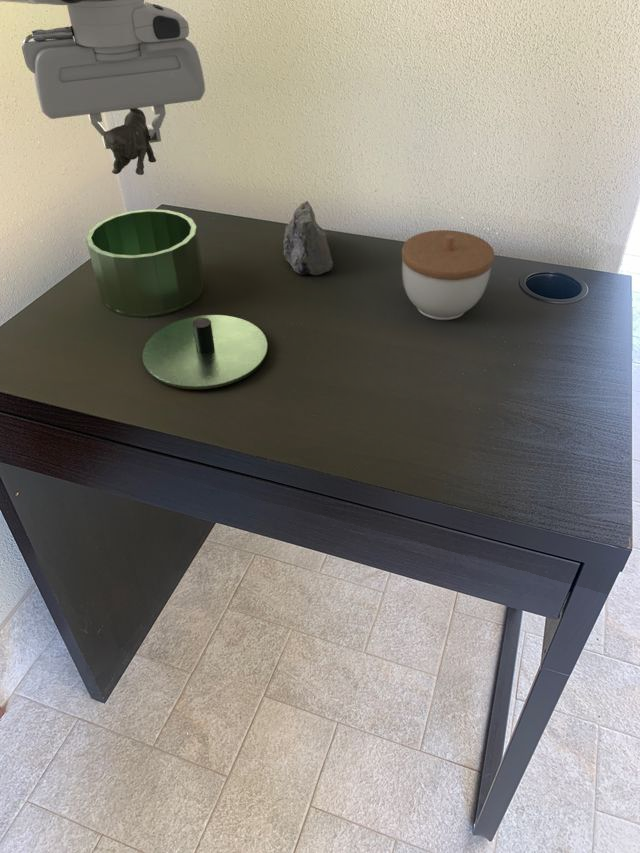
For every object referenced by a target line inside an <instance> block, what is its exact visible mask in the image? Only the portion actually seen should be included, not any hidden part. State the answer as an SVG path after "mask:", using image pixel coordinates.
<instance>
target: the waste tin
mask: <svg viewBox="0 0 640 853" xmlns="http://www.w3.org/2000/svg"><path fill="white" fill-rule="evenodd" d="M85 242H86V246H87V250H88V253H89V257H90V261H91V264H92V269H93V272H94V277H95V281H96V284H97V288H98V292H99V296H100V298H101V302H102V304H103V305H104V306H105V307H106V308H107V309H108V310H110V311H112V312H113V313H116V314H118V315H122V316H126V317H133V318H153V317H160V316H165V315H169V314H173V313H176V312H179V311H180V310H181V311H182V310H183V309H185V308H187V307H189V306H191V305H192V304H194V303H195V302H196V301H197V300H198V299H199V298H200V297H201V296H202V294H203V292H204V290H205V289H204V288H205V277H204V276H205V275H204V270H203V262H202V261H203V260H202V255H201V247H200V241H199V233H198V226H197V225H196V222H195V221H194V220H193V218H192V217H189V216H187V215H186V214H184V213H181V212H178V211H172V210H168V209H154V208H153V209H152V208H148V209H139V210H131V211H127V212H126V211H125V212H121V213H117V214H114V215H112V216H110V217H108V218H104V219H102V220H100V221H99V222H98V223H96V224H95V225H93V226H92V227H91V228H90V229H89V231H88V232H87V235H86V236H85Z"/></svg>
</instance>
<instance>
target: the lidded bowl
mask: <svg viewBox="0 0 640 853" xmlns="http://www.w3.org/2000/svg"><path fill="white" fill-rule="evenodd" d="M401 259H402V260H401V276H402V285H403V288H404V291H405V294H406V296H407V298H408V300H409V301H410V302H411V304H412V305H413V306H414V307H416V310H418V312H419V313H420V314H421V315H423V316H425V317H427V318H430V319H433V320H437V321H439V320H440V321H449V320H450V321H451V320H455V319H458V318H460V317H462V316H463V315H465V313H466V312H467V311H469V310H471V309H472V308H473V307H475V306H476V304H478V302H479V301H480V300H481V298H482V297H483V295H484V293H485V291H486V289H487V286H488V283H489V281H490V278H491V273H492V272H491V271H492V266H493V264H494V260H495V251H494V248H493V247H492V246H491V245H490V244H489V242H488V241H486V240H485V239H483V238H481V237H479V236H477V235H475V234H472V233H469V232H463V231H457V230H451V229H449V230H447V229H439V230H437V229H435V230H429V231H424V232H421V233H417V234H415V235H413V236H411V237H410V238H408V239H407V240H406V241H405V242H404V243H403V245H402V248H401Z"/></svg>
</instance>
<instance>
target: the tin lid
mask: <svg viewBox="0 0 640 853" xmlns="http://www.w3.org/2000/svg"><path fill="white" fill-rule="evenodd" d="M267 339H268V338H267V337H266V335H265V333H264V332H263V331H262V329H260V328H259V327H258V326H257V325H255V324H254V323H252V322H250V321H248V320H245V319H243V318H239V317H237V316H236V317H235V316H230V315H225V314H205V315H204V314H203V315H196V316H191V317H188V318H183V319H180V320H177V321H175V322H172V323H169V324H167V325H166V326H163V327H162V328H161V329H159V330H158V331H156V332H155V333H154V334H153V335H152V336H151V337H150V338H149V339H148V340H147V342H146V343H145V345H144V348H143V351H142V362H143V366H144V368H145V369H146V371H147V373H148V374H149V375H150V376H151V377H153V379H155V380H157V381H159V382H160V383H162V384H165V385H166V386H171V387H173V388H177V389H183V390H184V389H185V390H209V389H216V388H220V387H226V386H228V385H231V384H234V383H237V382H239V381H241V380H243V379H245V378H247V377H249V376H250V375H252V374H253V373H254V372H256V371H257V370H258V369H259V368H260V367H261V366H262V365H263V363H264V362H265V360H266V358H267V355H268V351H269V347H268V346H269V345H268V343H269V342H268V340H267Z"/></svg>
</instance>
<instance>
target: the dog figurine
mask: <svg viewBox="0 0 640 853" xmlns="http://www.w3.org/2000/svg"><path fill="white" fill-rule="evenodd" d="M146 118H147V117H146V115H145V113H144V111H143V110H141V108H135V109H129V112H128V113H127V114H126V115H125V117H124V120H123V122H124V124H122V125H119V126H115V127H113V128H111V129H109V130H106V132H104V133H103V136H104V138H105V139H106V141H107V144H108V146H109V148H110V149H109V150H110V151H111V152H112V154H113V158H114V161H113V163H112V165H113V169H112V170H111V174H114V175H118V174H120V173H121V172H122V170H123V169H124V168H125V167H126V166H129V164H130V163H131V161H132V160H133V161H134V160H136V159H137V162H136V168H135V174H136V175H138V176H143V175H144V174H145V171H144V169H145V164H144V161H145V158H146V155H147V160H148V162H149V163H156V162H157V158H156V156H155V154H154V151H153V147H152V146H151V143H150V142H149V141H148V137H147V131H146V126H147V119H146Z"/></svg>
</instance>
